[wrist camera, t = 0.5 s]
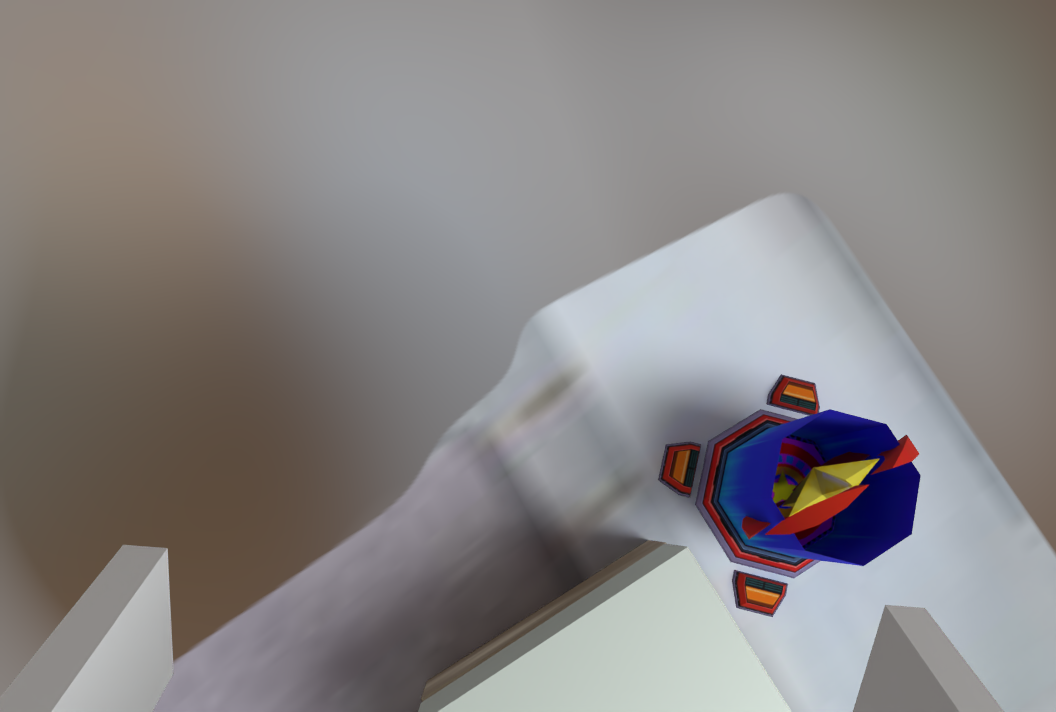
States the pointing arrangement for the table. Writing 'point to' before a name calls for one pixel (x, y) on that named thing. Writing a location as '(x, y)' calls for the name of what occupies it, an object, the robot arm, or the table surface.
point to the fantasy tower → (798, 490)
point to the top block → (626, 652)
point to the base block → (535, 620)
